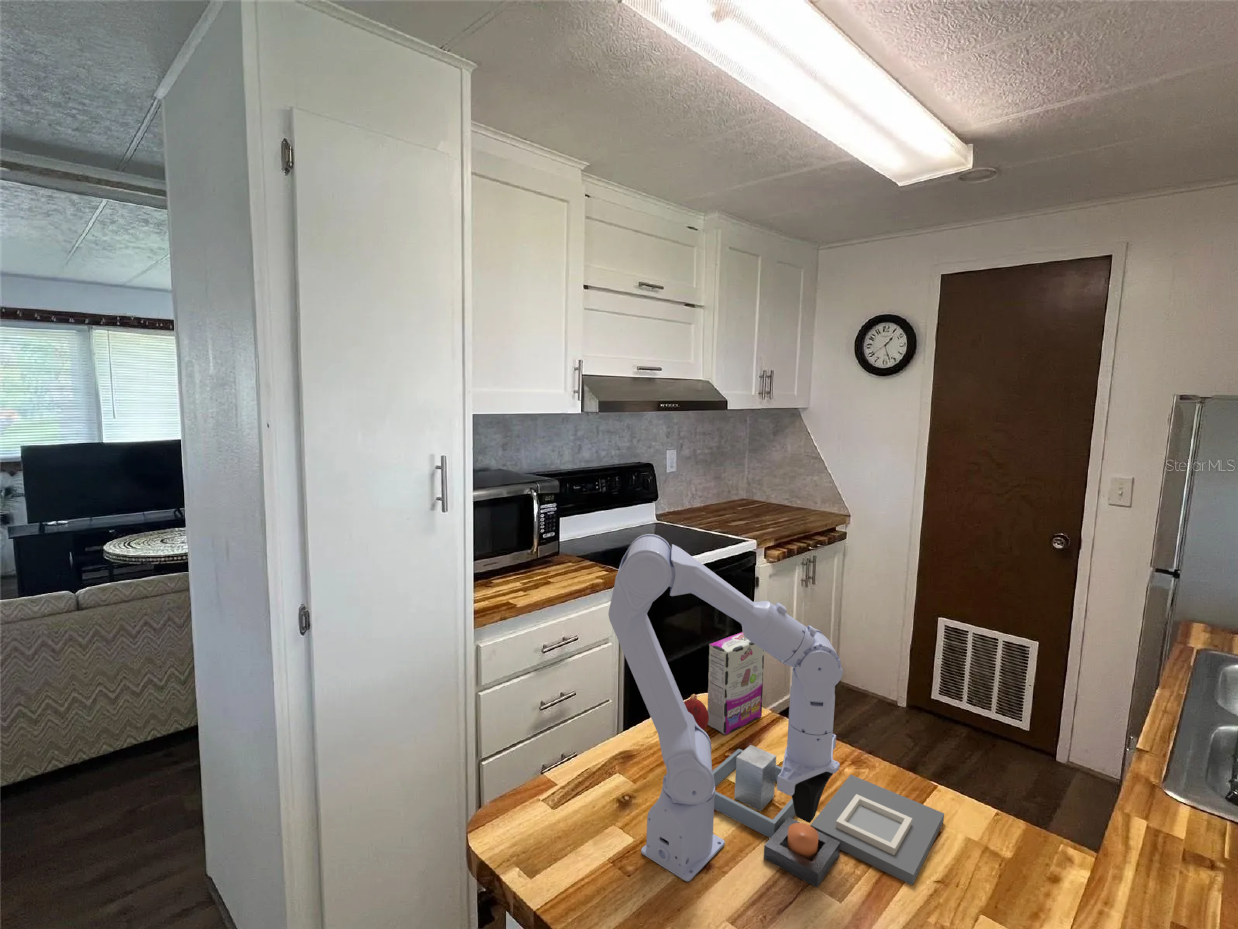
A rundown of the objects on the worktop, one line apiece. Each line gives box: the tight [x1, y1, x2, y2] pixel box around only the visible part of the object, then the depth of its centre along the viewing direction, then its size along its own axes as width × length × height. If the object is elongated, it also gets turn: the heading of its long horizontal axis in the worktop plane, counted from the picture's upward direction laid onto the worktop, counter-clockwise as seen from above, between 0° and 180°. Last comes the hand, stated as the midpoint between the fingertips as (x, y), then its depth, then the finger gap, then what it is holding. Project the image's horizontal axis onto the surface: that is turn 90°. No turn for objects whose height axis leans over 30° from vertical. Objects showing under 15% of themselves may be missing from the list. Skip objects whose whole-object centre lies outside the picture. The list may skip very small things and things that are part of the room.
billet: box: [733, 744, 777, 812], centre depth 98 cm, size 4×4×7 cm
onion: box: [684, 693, 709, 731], centre depth 115 cm, size 6×6×8 cm
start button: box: [787, 822, 819, 861], centre depth 86 cm, size 4×4×2 cm
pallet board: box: [809, 774, 945, 886], centre depth 92 cm, size 16×14×2 cm
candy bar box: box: [706, 631, 765, 736], centre depth 120 cm, size 11×5×16 cm, turn 129°
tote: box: [712, 748, 796, 839], centre depth 98 cm, size 13×13×2 cm
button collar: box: [763, 817, 841, 888], centre depth 86 cm, size 8×8×2 cm
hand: (804, 817), depth 85 cm, fingers closed
